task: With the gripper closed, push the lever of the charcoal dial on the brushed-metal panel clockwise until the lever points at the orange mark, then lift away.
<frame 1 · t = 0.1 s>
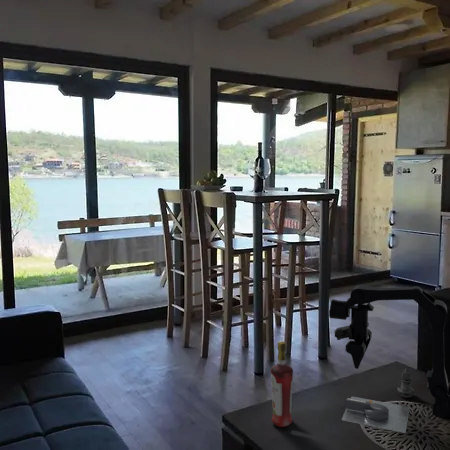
hand: (358, 363, 171), 15 cm above the table, tool pointing down, fingers open, 9 cm apart
liquor: (281, 424, 159), on the table
panel: (376, 416, 163), on the table
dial: (367, 407, 163), point 3 cm above the table, hinge at 0.0°
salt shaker: (405, 399, 175), on the table
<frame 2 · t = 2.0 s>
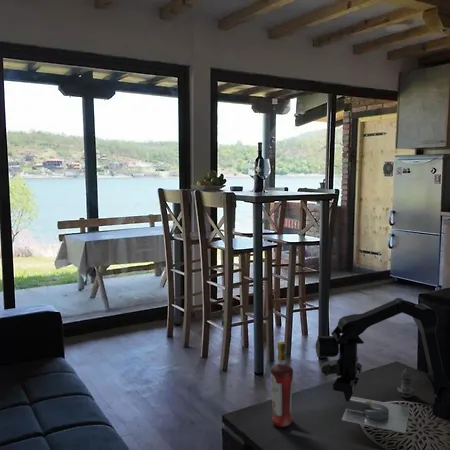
hand: (347, 400, 159), 7 cm above the table, tool pointing down, fingers closed
nothing on the table moved.
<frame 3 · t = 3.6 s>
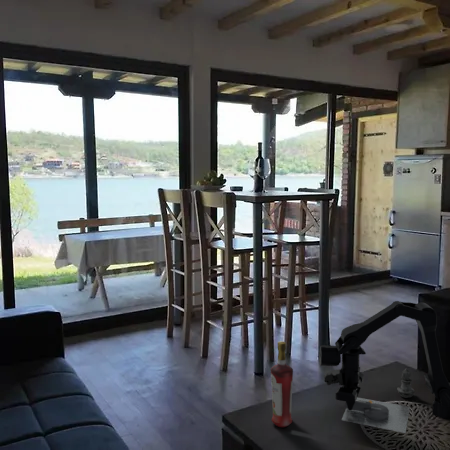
hand: (350, 409, 163), 2 cm above the table, tool pointing down, fingers closed
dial: (367, 407, 163), point 3 cm above the table, hinge at 0.0°, touching gripper
everything else where it was.
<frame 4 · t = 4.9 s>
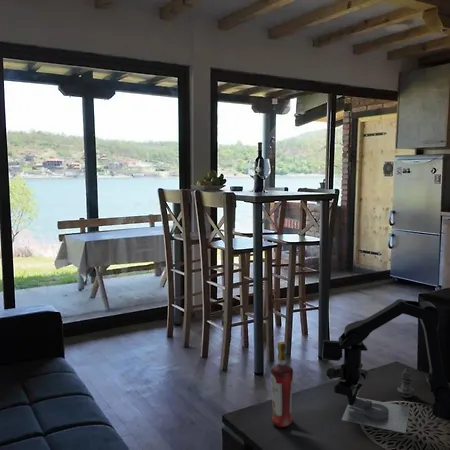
hand: (351, 405, 166), 3 cm above the table, tool pointing down, fingers closed
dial: (367, 406, 164), point 3 cm above the table, hinge at 17.9°, touching gripper
everything else where it was.
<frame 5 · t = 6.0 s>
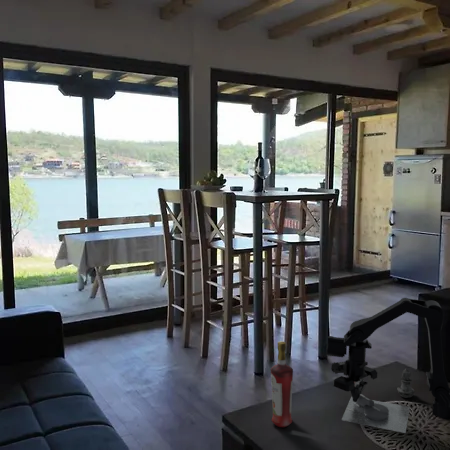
hand: (354, 401, 168), 3 cm above the table, tool pointing down, fingers closed
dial: (369, 405, 164), point 3 cm above the table, hinge at 39.5°, touching gripper
everything else where it was.
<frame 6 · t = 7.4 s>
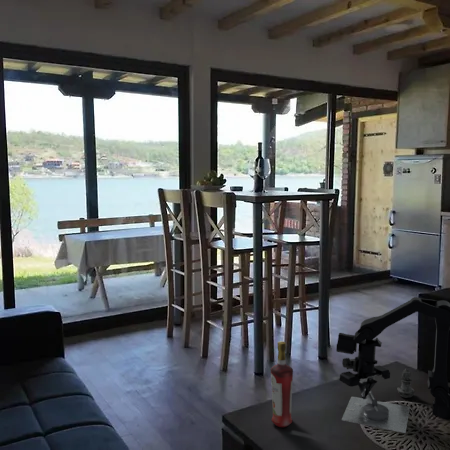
hand: (363, 398, 170), 3 cm above the table, tool pointing down, fingers closed
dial: (373, 404, 165), point 3 cm above the table, hinge at 68.3°, touching gripper
everything else where it was.
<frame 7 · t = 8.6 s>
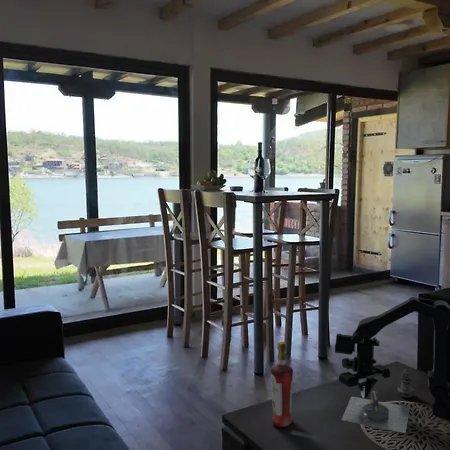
hand: (364, 398, 170), 3 cm above the table, tool pointing down, fingers closed
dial: (375, 405, 164), point 3 cm above the table, hinge at 78.2°
everything else where it was.
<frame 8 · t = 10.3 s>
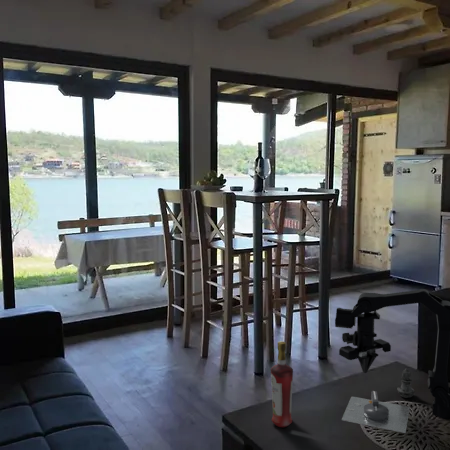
hand: (364, 372, 169), 12 cm above the table, tool pointing down, fingers closed
nothing on the table moved.
at the end: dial at +78° (first picture: +0°) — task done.
